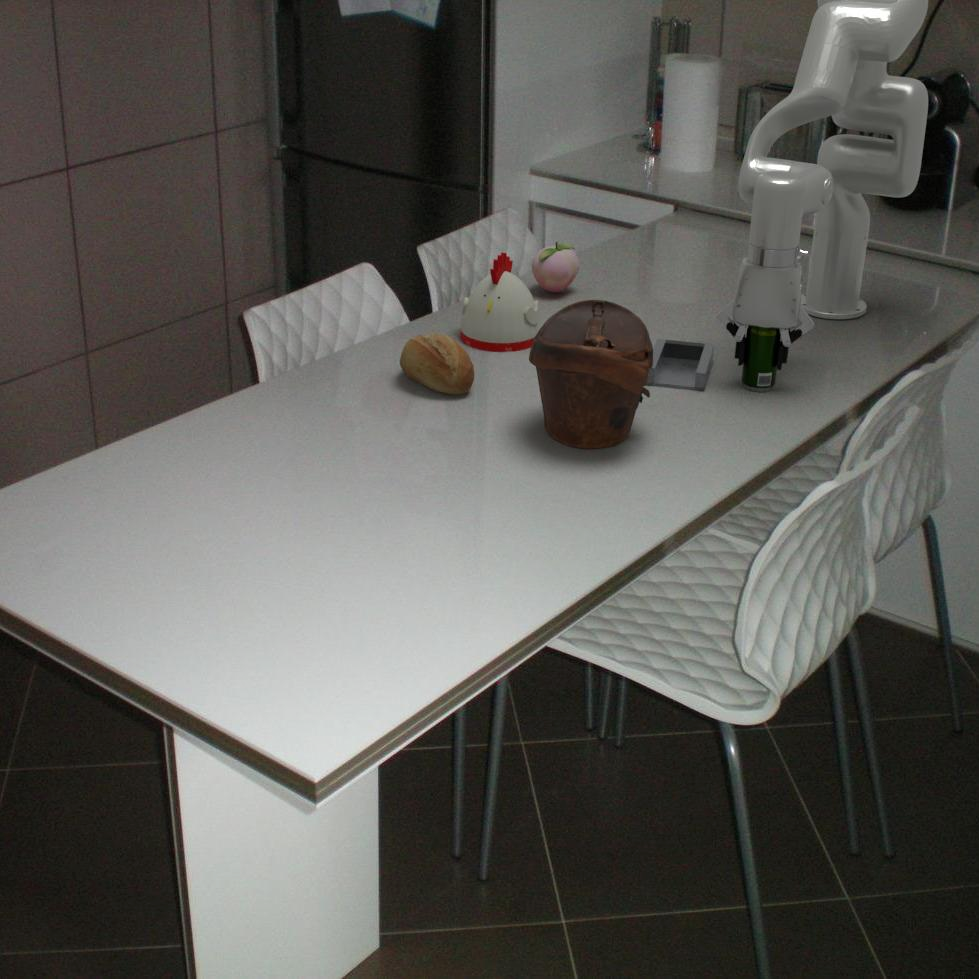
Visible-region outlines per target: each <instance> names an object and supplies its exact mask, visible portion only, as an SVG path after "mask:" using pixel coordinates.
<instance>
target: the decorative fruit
mask: <svg viewBox="0 0 979 979" xmlns="http://www.w3.org/2000/svg"><path fill="white" fill-rule="evenodd" d="M573 250H576V249H575V247H574V246H573V245H571V244H569V243H565V242H564V243H563V242H562V243H559V244H558V241H555V245H551V246H550V245H549V246H546V247H543V248H542V249H540V250H539V251H538V252H536V254H535V255H534V257H533V259H532V262H531V271H532V275H533V277H534V279H535V281H536V283H537V284H538V285H539V286H540V287H542V288H543V289H544V290H546V291H548V292H551V293H553V294H557V293H560V292H561V291H563V290H565V289H566V288H568V287H569V286H570V285H571V284H572V283H573V281H574V280H575V279H576V278H577V275H578V273H579V271H580V265H581V264H580V260H579V257H578V256H577V254H576V253H575V252H574V251H573Z"/></svg>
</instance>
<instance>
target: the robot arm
mask: <svg viewBox="0 0 979 979" xmlns="http://www.w3.org/2000/svg"><path fill="white" fill-rule="evenodd" d="M817 7H818V8H817V9H816V11H815V12H814V14H813V17H812V19H811V24H810V28H809V31H808V33H807V37H806V41H805V45H804V48H803V50H802V54H801V59H800V62H799V66H798V70H797V73H796V76H795V80H794V84H793V88H792V90H791V92H790V93H789V94H788V96H786V97H785V98H784V99H782V100H780V102H778V103H777V104H776V105H774V106H773V107H772V108H771V109H770V110H769V111H768V112H766V114H764V116H763V117H762V118H761V119H760V121H759V122H758V123H757V125H755V126H756V127H755V128H754V129H753V131H752V133H751V135H750V137H749V139H748V143H747V146H746V150H745V153H744V157H743V160H742V163H741V166H740V170H739V176H738V181H737V182H738V183H737V188H738V194H739V196H740V198H741V199H742V201H743V202H745V203H746V204H748V205H751V206H752V208H751V215H750V216H751V218H750V227H749V237H748V246H747V255H746V257H744V258H742V261H741V264H740V267H739V270H738V274H737V275H738V276H737V281H736V285H735V292H734V298H733V299H732V300H731V301H729V303H727V304H726V305H725V306H724V307H723V308H722V309H721V310H720V311H718V312H717V315H716V319H717V320H718V321H719V323H721V324H722V326H724V327H725V329H726V330H727V332H728V333H730V335H731V336H732V337H733V338H734V341H735V348H734V349H735V350H734V359H738V362H737V367H738V366H741V367H742V366H743V362H744V352H745V343H746V332H747V328H748V326H762V325H764V326H768V327H772V328H777V329H780V333H781V340H780V346H779V353H778V362H777V371H782V368H783V365H784V364H787V363H788V356H789V347H790V346H791V345H792V344H793V343H794V342H796V341H797V340H798V339H800V338H801V337H802V336H803V335H805V334H807V333H808V332H810V331H811V330H813V329H814V328H815V322H814V320H813V319H812V318H811V317H810V316H813V317H816V318H821V319H826V320H827V319H829V320H851V319H856V318H860V317H861V316H863V315H865V314H866V313H867V308H868V306H867V303H866V302H865V301H864V300H863V299H861V298H860V294H861V288H862V280H863V274H864V268H865V266H864V265H865V262H866V252H867V246H868V239H869V232H870V225H871V213H870V209H869V207H868V205H867V202H866V201H865V199H864V196H863V194H869V195H873V196H874V195H875V196H882V197H890V198H905V197H906V198H907V197H908V196H910V195H911V194H912V193H913V192H914V191H915V189H916V187H917V185H918V181H919V177H920V173H921V168H922V159H923V150H924V144H925V143H924V142H925V137H926V136H925V134H926V128H927V120H928V119H927V118H928V111H929V94H928V89H927V88H926V86H925V84H924V83H923V82H922V81H921V80H919V79H916V78H913V77H905V76H896V75H889V74H888V72H887V65H888V63H892V62H895V61H897V59H899V58H900V57H901V56H902V55H903V54H904V52H905V50H907V48H908V47H909V45H910V43H911V42H912V41H913V40H914V38H915V37H916V35H917V34H918V32H919V31H920V29H921V27H922V26H923V24H924V21H925V18H926V16H927V13H928V8H929V0H817ZM828 117H831V119H832V121H833V123H834V124H835V125H836V126H838V127H840V128H842V129H845V130H850V131H857V132H858V131H859V132H865V133H874V134H881V135H888V136H890V137H892V139H889V138H888V139H887V138H879V137H876V136H869V135H868V136H867V135H859V134H848V133H845V134H836V135H832V136H830V137H828V138H827V139H825V140H824V141H823V142H822V144H821V145H820V147H819V149H818V154H817V161H816V163H817V164H816V163H811V162H810V163H809V162H804V161H797V160H790V159H783V158H775V157H769V156H768V154H769V152H770V150H771V148H772V146H773V145H774V144H775V143H776V141H777V140H778V139H779V138H780V137H781V136H782V135H784V134H785V133H787V132H788V131H791V130H793V129H795V128H797V127H800V126H803V125H805V124H808V123H811V122H814V121H818V120H821V119H824V118H828ZM813 214H815V220H814V228H813V236H812V245H811V253H810V260H809V270H808V277H807V284H806V292H804V293H803V292H802V291H803V269H802V268H803V267H802V263H801V262H800V260H802V259H804V260H807V259H808V253H809V251H808V250H807V249H804V248H801V246H800V239H801V238H800V237H801V231H802V230H801V228H802V221H803V217H805V216H810V215H813ZM730 315H732V319H731V317H730ZM798 320H799V321H800V322H801V323H802V324H800V325H799V326H797V325H798ZM738 324H739V325H738ZM791 329H792V330H791Z"/></svg>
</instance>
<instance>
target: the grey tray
mask: <svg viewBox="0 0 979 979" xmlns="http://www.w3.org/2000/svg"><path fill="white" fill-rule="evenodd" d="M714 349H715V344H714V343H713V344H712V343H702V342H693V341H692V342H691V341H682V340H675V339H673V340H672V339H663V338H657V339H656V341H655V344H654V345H653V366H652V368H651V369H650V368H649V373H648V378H647V384H646V386H652V387H653V386H654V387H655V386H656V387H664V388H670V389H671V388H672V389H681V390H688V391H689V390H692V391H700V392H705V388H706V385H707V381H708V378H709V376H710V375H709V374H710V372H711V368H712V364H713V361H714Z"/></svg>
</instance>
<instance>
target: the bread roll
mask: <svg viewBox="0 0 979 979" xmlns="http://www.w3.org/2000/svg"><path fill="white" fill-rule="evenodd" d="M402 348H403V349H402V352H401V354H400V358H399V366H400V368H401V370H402V371H403V373H404V374H405V375H406V376H407V377H408V378H410V379H412V380H415V381H416V382H418V383H420V384H422V385H424V386H425V387H427V388H429V389H431V390H434V391H437V392H440V393H443V394H448V395H462V394H466V393H468V392H469V391H470V390H471V388H472V386H473V383H474V381H475V369H474V368H475V367H474V364H473V362H472V360H471V357H470V355H469V354H468V352H467V351H466V349H465V348H464V347H463V346H462V345H461V344H459V342H457V341H456V340H454V339H453V338H452V337H450V336H448V335H446V334H441V333H440V334H438V333H434V334H433V333H427V334H422V335H421V334H418V335H416V336H413V337H412V338H409V339H408V340H407V342H405V344H404V346H403V347H402Z"/></svg>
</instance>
